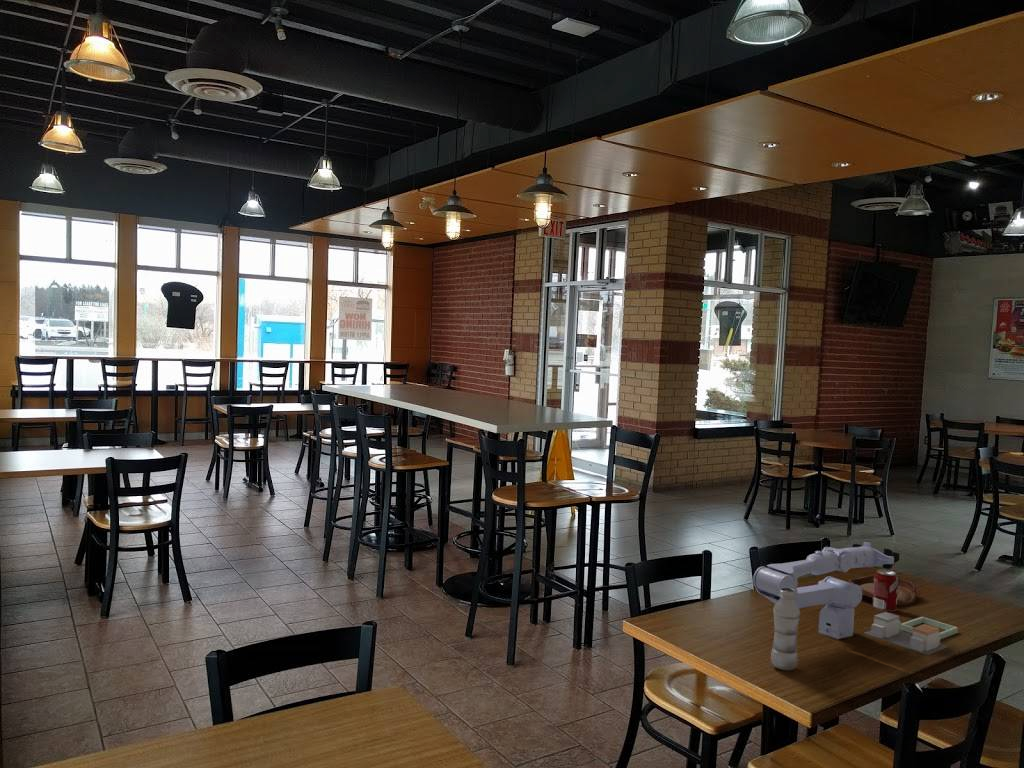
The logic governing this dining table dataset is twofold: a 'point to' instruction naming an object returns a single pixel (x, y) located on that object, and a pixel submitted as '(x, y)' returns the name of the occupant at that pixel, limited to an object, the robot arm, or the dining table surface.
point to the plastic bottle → (785, 631)
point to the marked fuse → (927, 635)
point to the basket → (903, 596)
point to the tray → (949, 629)
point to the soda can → (885, 590)
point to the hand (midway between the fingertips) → (886, 554)
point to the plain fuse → (888, 623)
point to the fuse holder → (903, 639)
